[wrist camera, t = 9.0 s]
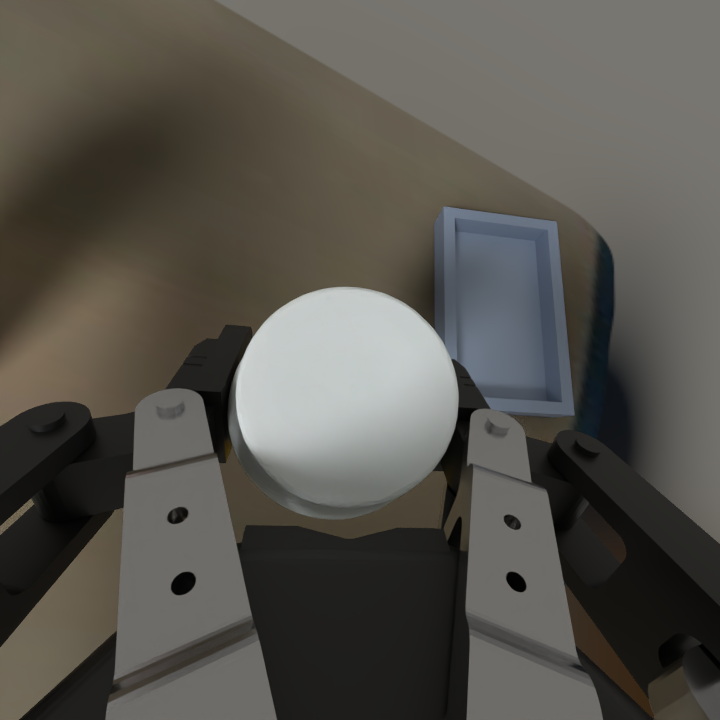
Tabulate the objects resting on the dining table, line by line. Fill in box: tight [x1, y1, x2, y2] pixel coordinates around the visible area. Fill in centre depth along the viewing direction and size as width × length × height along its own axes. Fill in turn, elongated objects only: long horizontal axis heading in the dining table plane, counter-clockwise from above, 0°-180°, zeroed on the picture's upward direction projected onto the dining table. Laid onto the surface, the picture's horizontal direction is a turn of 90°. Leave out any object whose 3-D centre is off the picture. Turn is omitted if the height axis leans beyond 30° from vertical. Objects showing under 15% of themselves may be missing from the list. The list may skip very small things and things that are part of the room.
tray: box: [434, 207, 575, 417], centre depth 32 cm, size 18×11×2 cm, turn 177°
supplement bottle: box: [227, 287, 459, 520], centre depth 11 cm, size 5×5×10 cm
